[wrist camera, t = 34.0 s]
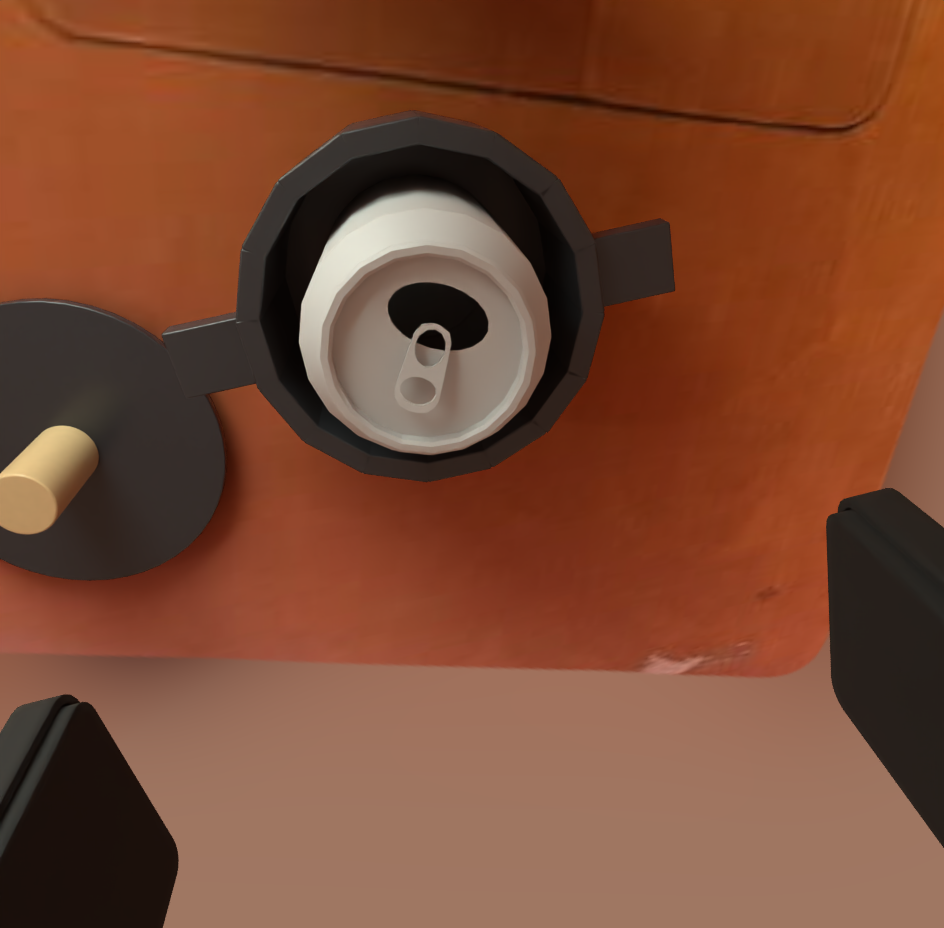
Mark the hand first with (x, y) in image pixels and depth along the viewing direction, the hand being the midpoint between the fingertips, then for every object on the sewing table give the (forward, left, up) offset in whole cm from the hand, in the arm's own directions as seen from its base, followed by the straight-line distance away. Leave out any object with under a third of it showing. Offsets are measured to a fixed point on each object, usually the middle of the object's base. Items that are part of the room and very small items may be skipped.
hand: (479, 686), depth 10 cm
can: (0, 0, -26) cm, 26 cm away
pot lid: (+14, -10, -25) cm, 30 cm away
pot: (0, 0, -26) cm, 26 cm away
